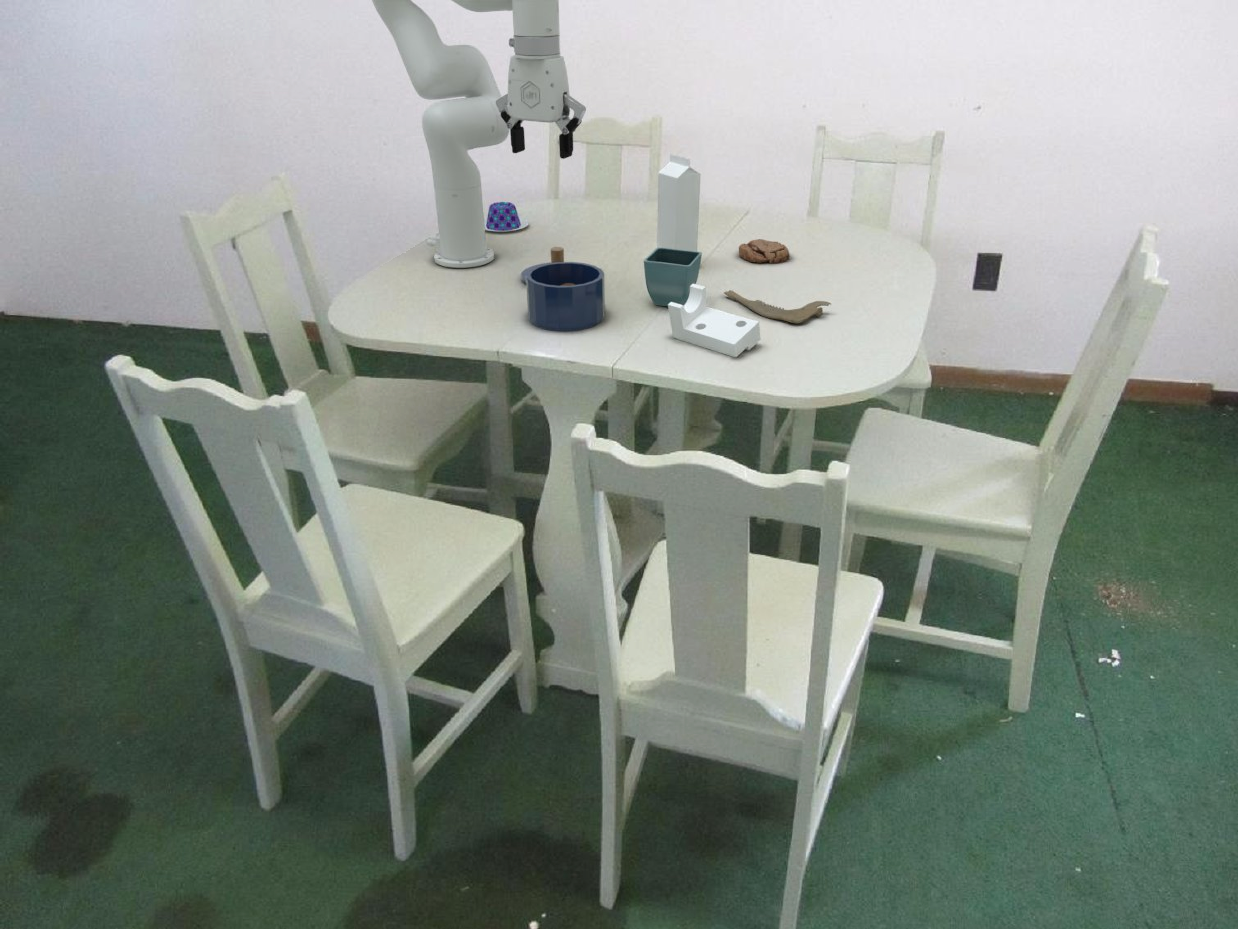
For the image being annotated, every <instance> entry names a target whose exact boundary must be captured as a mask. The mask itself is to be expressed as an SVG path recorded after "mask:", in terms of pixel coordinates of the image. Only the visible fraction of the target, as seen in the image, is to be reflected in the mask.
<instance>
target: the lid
mask: <svg viewBox="0 0 1238 929" xmlns="http://www.w3.org/2000/svg"><path fill="white" fill-rule="evenodd" d="M549 250H550V261H549V262H543V263H538V264H534V265H531V266H528V267H527V268H525V269H524V270H523V271H521V274H520V276H521V281H522V282H523V283H525V284H526V274H527V272H528V271H529V270H531V269H533V268H534V267H537V266H540V265H544V264H548V263H556V262H565V249H564V247H562V246H553V247H551V248H550V249H549Z"/></svg>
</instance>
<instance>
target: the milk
mask: <svg viewBox="0 0 1238 929" xmlns="http://www.w3.org/2000/svg"><path fill="white" fill-rule="evenodd" d="M657 182H658V183H657V219H656V220H657V225H656V228H657V229H656V232H657V233H656V248H669V249H678V250H687V251H696V252H698V246H699V245H698V242H699V220H700V198H701V196H700V194H701V173H700V172H698V171H697V170H696V169H694V168H692V167H691V160H690V158H688V157H684V156H680V155H677V154H672V153H670V154H669V162H668V163H666V165H665V166H663V168H662V169H660V170H659V171H658V174H657Z"/></svg>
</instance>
